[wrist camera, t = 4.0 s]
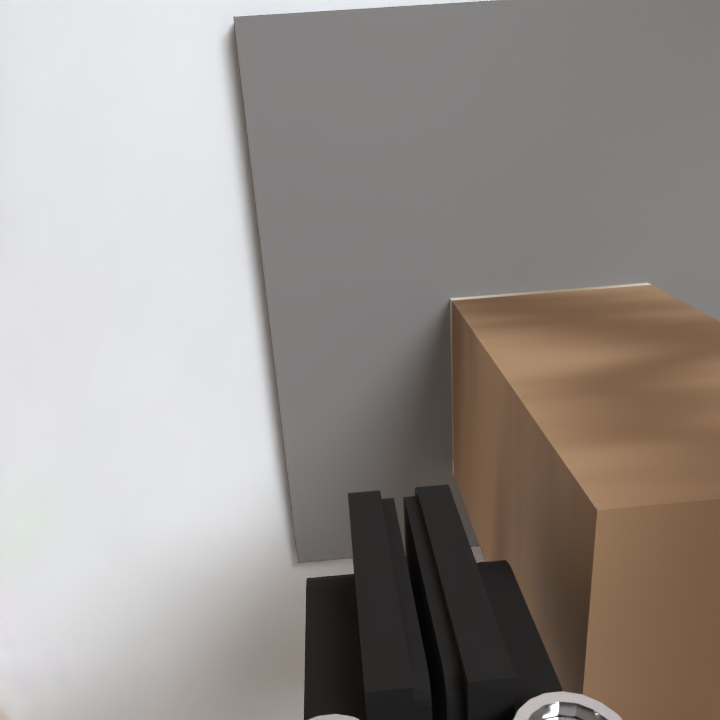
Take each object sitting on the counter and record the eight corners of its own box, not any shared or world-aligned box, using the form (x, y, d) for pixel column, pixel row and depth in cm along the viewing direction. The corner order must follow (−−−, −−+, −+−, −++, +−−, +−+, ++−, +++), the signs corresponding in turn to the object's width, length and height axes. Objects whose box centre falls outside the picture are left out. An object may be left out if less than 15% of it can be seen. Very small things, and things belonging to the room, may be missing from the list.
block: (647, 282, 17) (999, 472, 8) (630, 457, 19) (902, 762, 10) (450, 298, 17) (597, 509, 8) (452, 473, 18) (574, 798, 10)
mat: (1119, -37, 15) (1140, -40, 15) (957, 492, 20) (969, 499, 20) (235, 19, 14) (233, 17, 14) (298, 554, 19) (297, 562, 19)
